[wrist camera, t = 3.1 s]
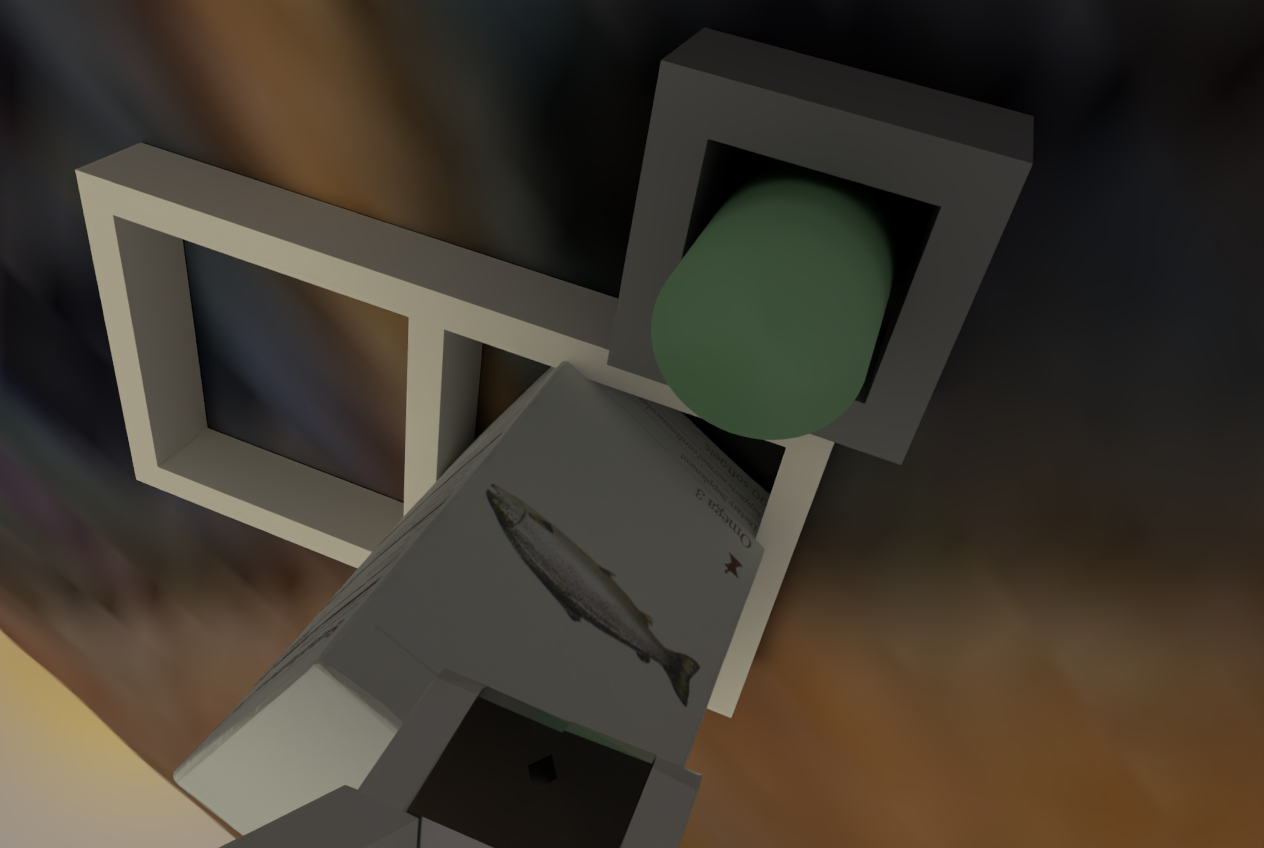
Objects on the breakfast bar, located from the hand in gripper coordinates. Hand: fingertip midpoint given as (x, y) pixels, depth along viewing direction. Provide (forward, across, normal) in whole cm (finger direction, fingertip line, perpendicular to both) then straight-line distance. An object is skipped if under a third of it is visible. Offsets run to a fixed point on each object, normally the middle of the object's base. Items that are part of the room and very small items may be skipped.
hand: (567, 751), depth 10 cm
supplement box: (+15, +4, +9) cm, 18 cm away
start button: (+13, 0, 0) cm, 13 cm away
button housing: (+15, 0, 0) cm, 15 cm away
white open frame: (+15, +9, +9) cm, 19 cm away
